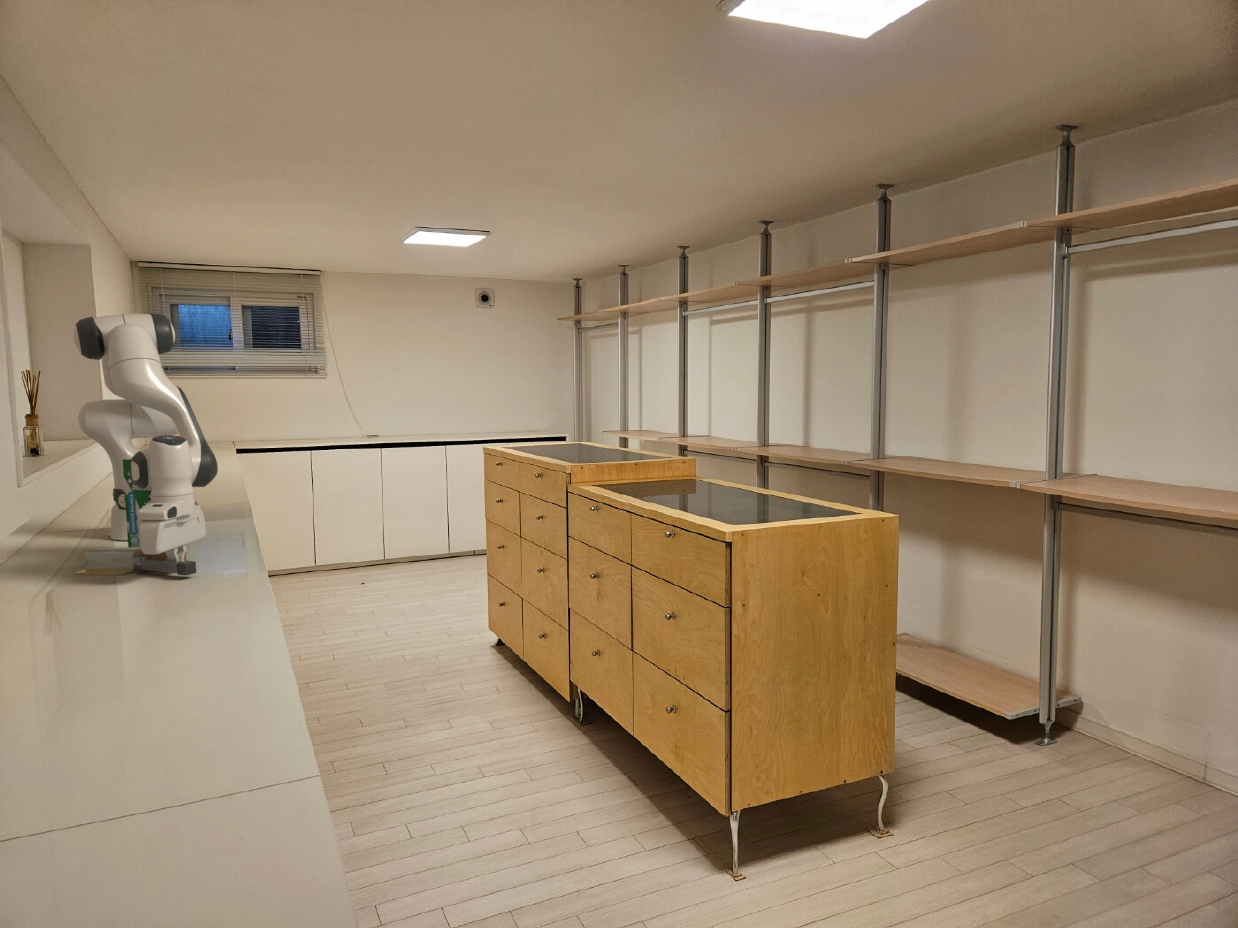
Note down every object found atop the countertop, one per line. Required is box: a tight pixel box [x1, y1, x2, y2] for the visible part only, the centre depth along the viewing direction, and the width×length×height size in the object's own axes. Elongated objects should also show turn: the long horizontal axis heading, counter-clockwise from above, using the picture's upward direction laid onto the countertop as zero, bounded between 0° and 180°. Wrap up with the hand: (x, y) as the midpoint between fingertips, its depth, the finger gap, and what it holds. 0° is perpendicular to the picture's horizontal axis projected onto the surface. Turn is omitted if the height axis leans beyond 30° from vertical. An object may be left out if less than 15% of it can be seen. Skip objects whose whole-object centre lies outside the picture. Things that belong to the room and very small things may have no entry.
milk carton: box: [123, 459, 152, 548], centre depth 211 cm, size 9×9×25 cm
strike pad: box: [73, 568, 135, 576], centre depth 192 cm, size 4×12×1 cm, turn 86°
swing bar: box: [133, 555, 197, 577], centre depth 189 cm, size 17×3×3 cm, turn 69°
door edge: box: [83, 546, 188, 572], centre depth 198 cm, size 8×20×4 cm, turn 86°
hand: (177, 565), depth 191 cm, fingers closed
